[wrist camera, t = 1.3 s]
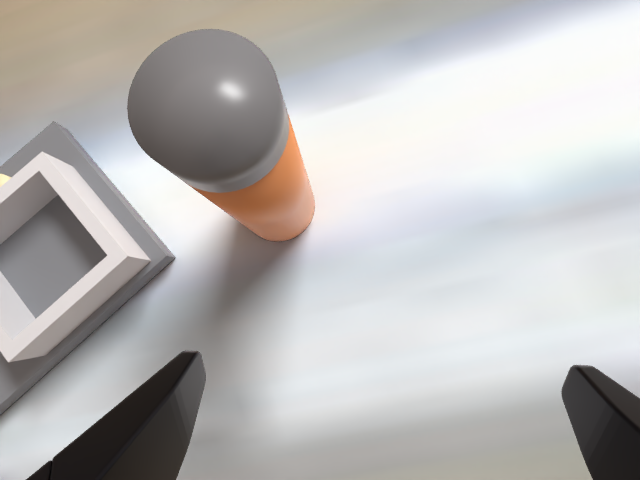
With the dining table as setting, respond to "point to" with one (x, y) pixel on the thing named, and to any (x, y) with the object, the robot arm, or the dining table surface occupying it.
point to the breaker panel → (63, 256)
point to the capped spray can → (223, 129)
